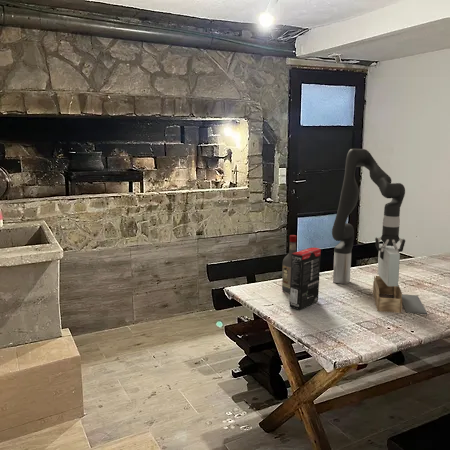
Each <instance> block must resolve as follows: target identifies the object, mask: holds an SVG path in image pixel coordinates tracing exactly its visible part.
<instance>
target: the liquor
mask: <svg viewBox="0 0 450 450" xmlns="http://www.w3.org/2000/svg"><path fill="white" fill-rule="evenodd" d="M288 240H289V250H288V254H287V255H285V256H284V258H283V260H282V267H281V268H282V271H281V272H282V275H281V276H282V278H281V290H282V292H285V293H287V294H290V280H291V259H292V253H295V252H297V235H295V234H290V235H289V239H288Z"/></svg>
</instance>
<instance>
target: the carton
mask: <svg viewBox="0 0 450 450" xmlns="http://www.w3.org/2000/svg"><path fill="white" fill-rule="evenodd" d="M372 294H373V299H374V305H375V308H376V311H377V312H381V313H382V312H384V313H395V314H396V313H398V314H402V310H403V309H402V308H403V304H402V294H403V292H402V289H401V288H400V285H399V284H398V286H387V285H386V284H385V282H384V281H383V280H382V279H381V277H380V276H379V275H374V277H373V283H372ZM380 295H389V296H390V295H391V296H393V298H392V297H381V296H380Z"/></svg>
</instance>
